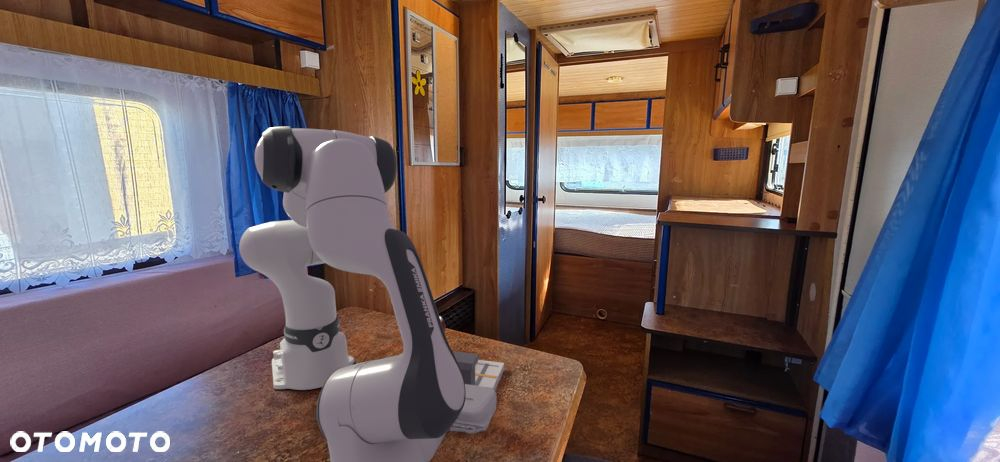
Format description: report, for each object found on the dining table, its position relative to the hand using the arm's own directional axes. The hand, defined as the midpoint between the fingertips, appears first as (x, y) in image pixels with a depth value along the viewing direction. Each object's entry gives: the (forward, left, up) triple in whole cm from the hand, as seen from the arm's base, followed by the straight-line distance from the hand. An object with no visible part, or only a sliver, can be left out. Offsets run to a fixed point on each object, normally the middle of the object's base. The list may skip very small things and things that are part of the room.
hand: (450, 375), depth 71 cm
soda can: (-28, +14, -15) cm, 35 cm away
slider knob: (-5, +7, -12) cm, 14 cm away
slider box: (-9, +13, -14) cm, 22 cm away
